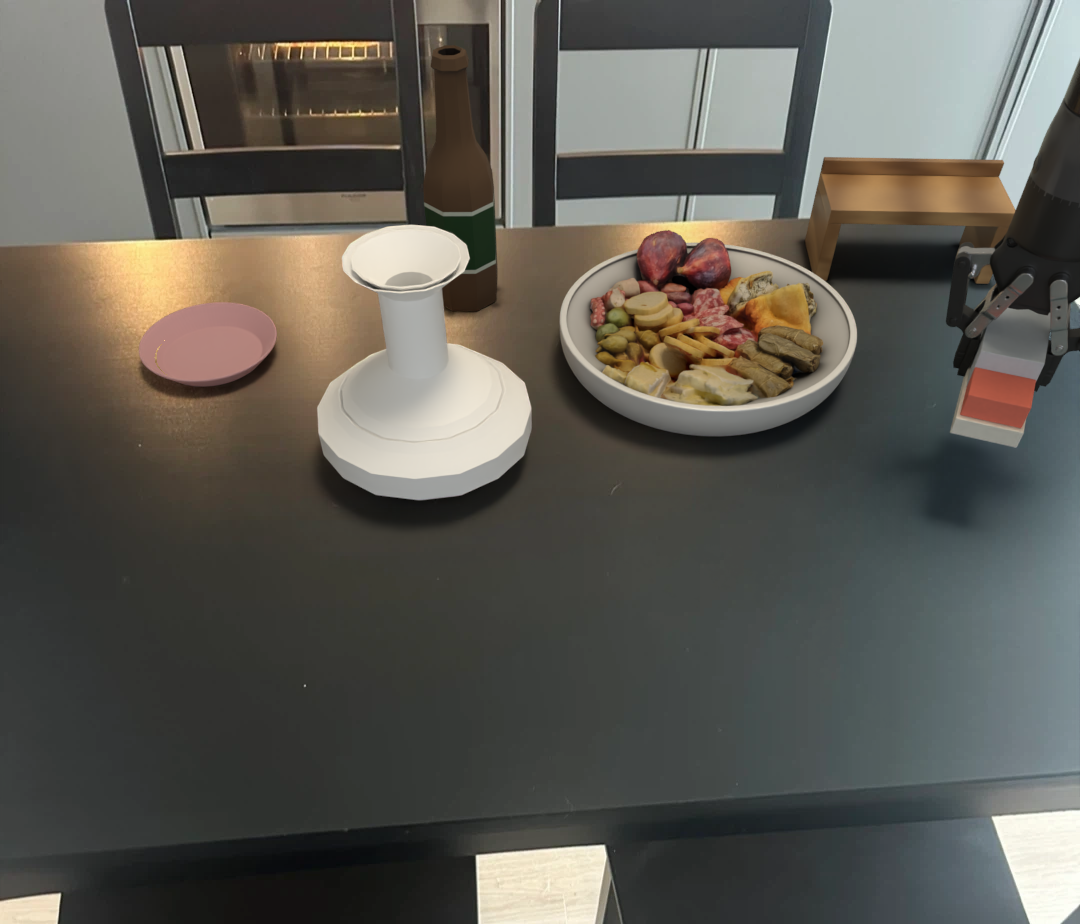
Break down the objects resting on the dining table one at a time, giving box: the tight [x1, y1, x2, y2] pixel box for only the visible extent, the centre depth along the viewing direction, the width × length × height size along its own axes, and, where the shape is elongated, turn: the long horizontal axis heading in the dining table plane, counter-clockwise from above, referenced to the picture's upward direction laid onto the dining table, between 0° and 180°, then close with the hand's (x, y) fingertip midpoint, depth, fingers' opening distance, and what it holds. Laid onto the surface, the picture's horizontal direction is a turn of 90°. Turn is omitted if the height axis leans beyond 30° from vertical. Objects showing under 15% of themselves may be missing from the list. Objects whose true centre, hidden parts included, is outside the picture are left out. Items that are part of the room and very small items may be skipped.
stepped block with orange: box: [949, 308, 1051, 448], centre depth 79 cm, size 13×5×5 cm, turn 158°
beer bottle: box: [422, 44, 498, 312], centre depth 97 cm, size 8×8×24 cm
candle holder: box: [316, 224, 533, 501], centre depth 82 cm, size 20×20×19 cm
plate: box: [138, 301, 278, 387], centre depth 99 cm, size 14×14×2 cm
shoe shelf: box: [804, 156, 1016, 285], centre depth 106 cm, size 20×9×10 cm, turn 87°
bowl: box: [559, 229, 858, 437], centre depth 96 cm, size 30×30×8 cm
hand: (997, 377), depth 82 cm, fingers closed on stepped block with orange, 5 cm apart
